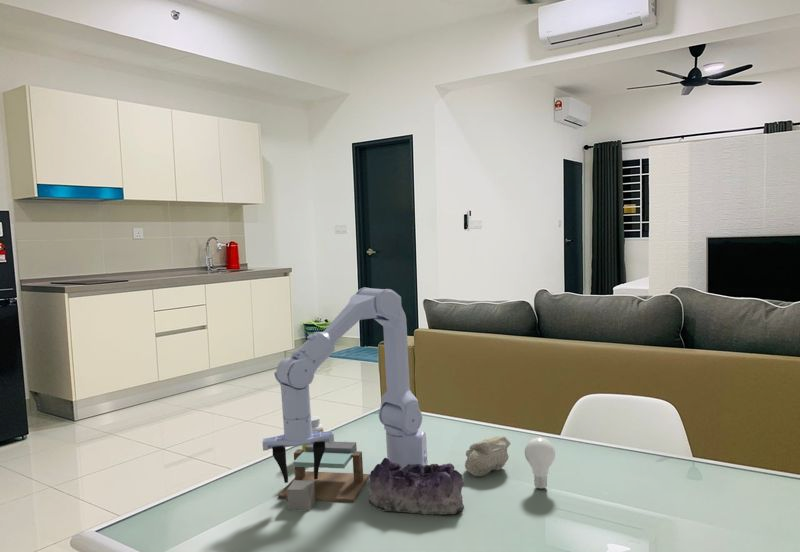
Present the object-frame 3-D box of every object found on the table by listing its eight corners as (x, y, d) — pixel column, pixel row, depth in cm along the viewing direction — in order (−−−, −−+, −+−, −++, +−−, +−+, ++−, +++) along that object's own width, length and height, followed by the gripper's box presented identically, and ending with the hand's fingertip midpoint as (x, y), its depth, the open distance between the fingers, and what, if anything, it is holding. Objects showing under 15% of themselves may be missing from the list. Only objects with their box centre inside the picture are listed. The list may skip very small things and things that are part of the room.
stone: (315, 501, 125) (314, 480, 125) (309, 511, 121) (308, 489, 120) (295, 500, 126) (293, 480, 125) (288, 510, 121) (286, 489, 121)
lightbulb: (558, 484, 128) (557, 434, 127) (553, 496, 122) (551, 445, 121) (529, 480, 130) (527, 431, 129) (522, 492, 124) (521, 441, 124)
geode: (362, 519, 116) (359, 467, 117) (374, 500, 128) (371, 453, 129) (465, 518, 113) (461, 465, 114) (467, 499, 125) (464, 451, 125)
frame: (369, 476, 136) (368, 447, 136) (353, 502, 124) (352, 469, 123) (300, 473, 140) (299, 444, 139) (278, 498, 127) (276, 466, 127)
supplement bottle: (311, 463, 146) (308, 423, 145) (298, 458, 150) (296, 418, 149) (329, 456, 150) (327, 417, 149) (316, 451, 154) (314, 413, 153)
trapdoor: (358, 451, 137) (357, 442, 137) (344, 469, 126) (344, 459, 126) (310, 449, 139) (309, 440, 139) (293, 467, 129) (292, 457, 129)
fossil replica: (456, 478, 134) (498, 488, 129) (456, 444, 132) (498, 453, 128) (475, 455, 144) (514, 464, 140) (475, 423, 143) (515, 431, 138)
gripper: (331, 406, 127) (334, 467, 128) (262, 413, 125) (266, 475, 126) (332, 416, 120) (336, 480, 121) (260, 423, 118) (264, 489, 119)
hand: (301, 479), depth 123 cm, fingers open, 5 cm apart
